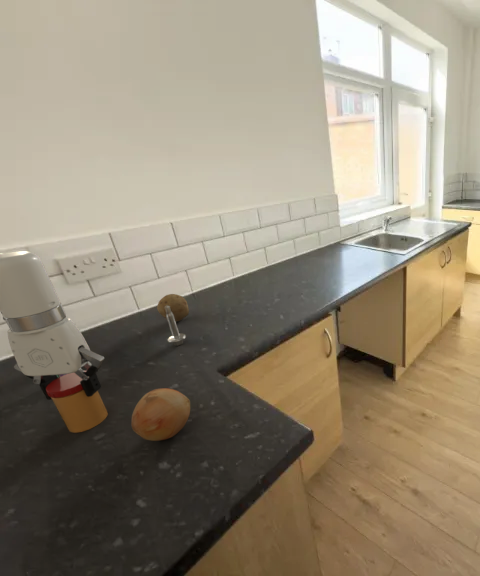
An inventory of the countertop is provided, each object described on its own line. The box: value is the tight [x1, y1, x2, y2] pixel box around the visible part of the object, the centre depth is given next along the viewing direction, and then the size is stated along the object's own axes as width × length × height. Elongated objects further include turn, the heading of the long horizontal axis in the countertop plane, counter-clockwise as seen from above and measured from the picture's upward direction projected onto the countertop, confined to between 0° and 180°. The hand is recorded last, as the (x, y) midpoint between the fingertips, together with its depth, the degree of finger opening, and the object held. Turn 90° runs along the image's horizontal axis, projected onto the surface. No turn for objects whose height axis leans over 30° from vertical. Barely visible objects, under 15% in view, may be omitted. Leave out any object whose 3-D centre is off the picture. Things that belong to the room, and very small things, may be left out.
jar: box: [51, 389, 109, 434], centre depth 67 cm, size 7×7×10 cm
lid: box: [46, 370, 87, 398], centre depth 65 cm, size 7×7×1 cm
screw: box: [164, 306, 187, 347], centre depth 95 cm, size 13×5×5 cm
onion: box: [130, 387, 191, 442], centre depth 64 cm, size 10×10×10 cm
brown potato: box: [156, 293, 190, 323], centre depth 110 cm, size 9×9×10 cm
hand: (75, 393), depth 66 cm, fingers closed on lid, 6 cm apart
